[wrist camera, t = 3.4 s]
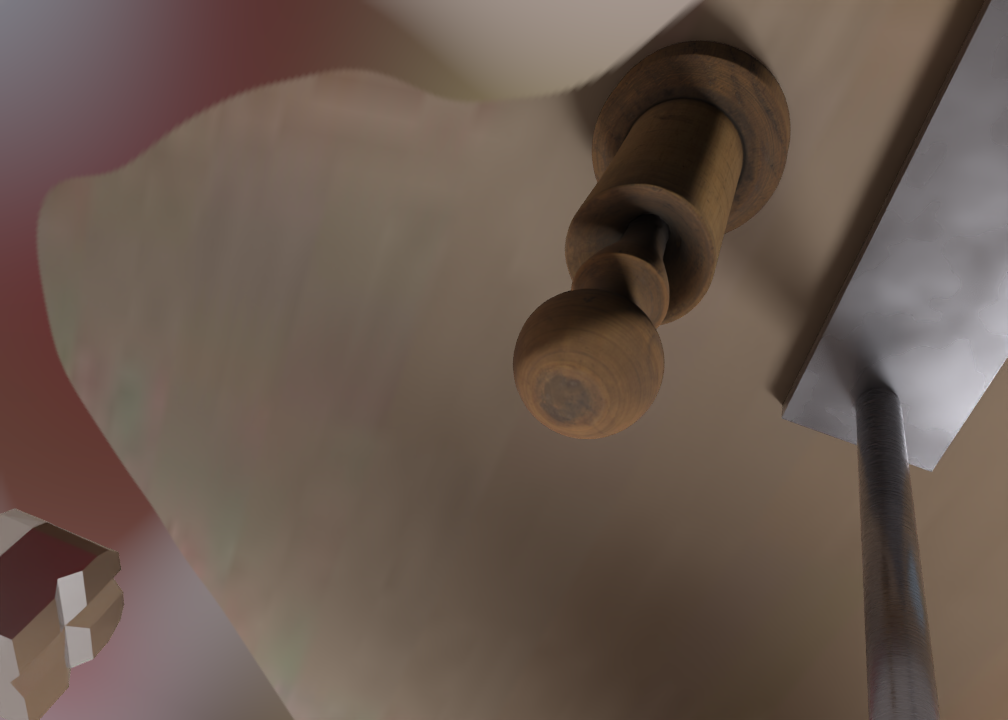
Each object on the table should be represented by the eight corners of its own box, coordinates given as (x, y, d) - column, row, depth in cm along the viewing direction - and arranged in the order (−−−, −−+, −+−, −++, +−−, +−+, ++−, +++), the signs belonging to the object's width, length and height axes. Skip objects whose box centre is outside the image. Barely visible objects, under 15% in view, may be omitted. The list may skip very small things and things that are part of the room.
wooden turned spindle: (676, 252, 33) (554, 575, 19) (568, 122, 32) (347, 359, 17) (829, 147, 30) (826, 446, 15) (713, -4, 28) (589, 161, 14)
